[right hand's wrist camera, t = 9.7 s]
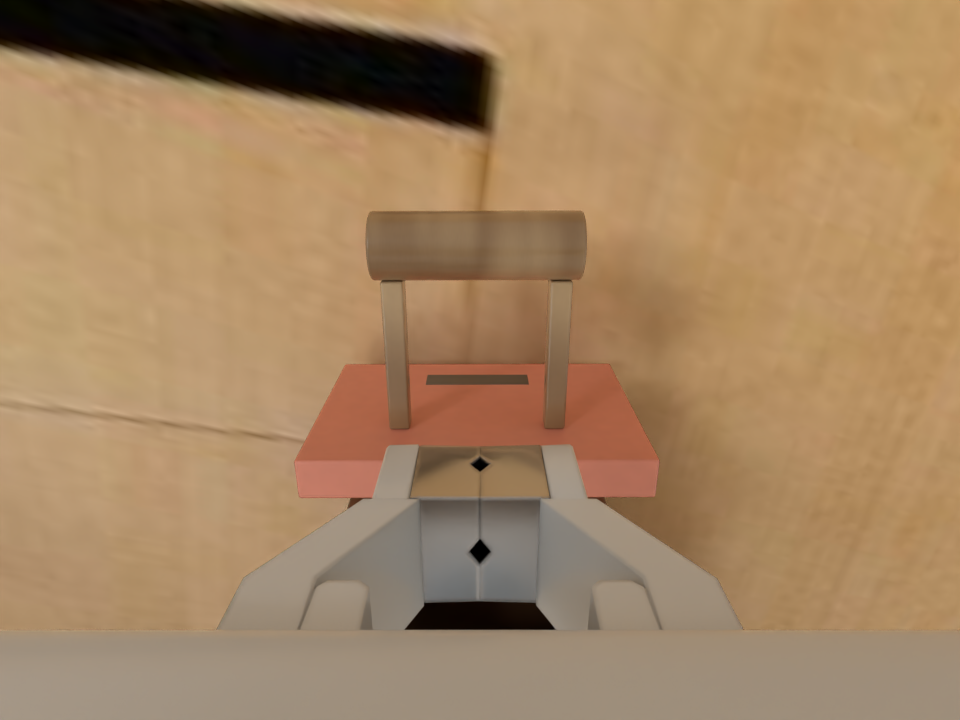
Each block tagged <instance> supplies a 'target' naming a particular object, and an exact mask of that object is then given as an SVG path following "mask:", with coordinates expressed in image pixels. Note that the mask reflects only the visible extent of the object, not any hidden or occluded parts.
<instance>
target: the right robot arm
mask: <svg viewBox="0 0 960 720" xmlns="http://www.w3.org/2000/svg"><path fill="white" fill-rule="evenodd" d="M468 601H491V602H527V603H536V606H537V607H538V608H539V609H540V611H541V612H542V613H543V614H544V616H545V617H546V618H547V619H548V620H549V622H550V623H551V624H552V625H553V627H554V628H555V629H556V630H405V628H406V627H407V626H408V625H409V623H410V622H411V621H412V620H413V619H414V617H415V616H416V615H417V614H418V612H419V611H420V610H421V609H422V608H423V606H424V603H432V602H468ZM0 720H960V630H744V629H743V627H742V626H741V624H740V622H739V620H738V618H737V616H736V614H735V612H734V610H733V608H732V606H731V604H730V602H729V600H728V598H727V596H726V595H725V593H724V591H723V589H722V587H721V585H720V583H719V581H718V579H717V578H716V577H714V576H713V575H711V574H710V573H708V572H707V571H705V570H704V569H702V568H701V567H699V566H697V565H696V564H694V563H693V562H691V561H690V560H688V559H687V558H685V557H684V556H682V555H681V554H679V553H678V552H676V551H675V550H673V549H672V548H670V547H669V546H667V545H666V544H664V543H663V542H661V541H660V540H658V539H657V538H655V537H654V536H652V535H651V534H649V533H648V532H646V531H645V530H643V529H642V528H640V527H639V526H637V525H636V524H634V523H633V522H631V521H630V520H628V519H626V518H625V517H623V516H622V515H620V514H619V513H617V512H616V511H614V510H613V509H611V508H610V507H608V506H607V505H605V504H604V503H602V502H601V501H599V500H598V499H588V497H587V494H586V490H585V487H584V483H583V480H582V477H581V473H580V470H579V466H578V463H577V459H576V456H575V453H574V449H573V446H571V445H570V444H562V445H515V446H450V445H420V446H419V445H418V444H409V445H389V446H388V447H387V448H386V452H385V455H384V459H383V462H382V466H381V469H380V473H379V476H378V480H377V483H376V487H375V490H374V494H373V497H372V499H362V500H361V501H359V502H358V503H356V504H355V505H353V506H352V507H350V508H349V509H347V510H346V511H344V512H342V513H341V514H339V515H338V516H336V517H335V518H333V519H332V520H330V521H329V522H327V523H326V524H324V525H323V526H321V527H320V528H318V529H317V530H315V531H314V532H312V533H311V534H309V535H308V536H306V537H305V538H303V539H302V540H300V541H298V542H297V543H295V544H294V545H292V546H291V547H289V548H288V549H286V550H285V551H283V552H282V553H280V554H279V555H277V556H276V557H274V558H273V559H271V560H270V561H268V562H267V563H265V564H264V565H262V566H261V567H259V568H258V569H256V570H254V571H253V572H251V573H250V574H248V575H247V576H245V577H244V578H243V580H242V582H241V584H240V585H239V587H238V589H237V591H236V593H235V595H234V597H233V599H232V601H231V603H230V605H229V606H228V608H227V610H226V612H225V614H224V616H223V618H222V620H221V622H220V624H219V626H218V627H217V629H216V630H0Z"/></svg>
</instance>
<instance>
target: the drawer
mask: <svg viewBox="0 0 960 720" xmlns="http://www.w3.org/2000/svg"><path fill="white" fill-rule="evenodd" d="M586 251H587V229H586V220H585V216H584V213H583V212H582V211H372V212H370V213H369V215H368V218H367V224H366V257H367V265H368V270H369V274H370V276H371V279H372V280H382V281H381V283H380V288H381V303H382V319H383V334H384V350H385V364H347V365H345V366H344V368H343V370H342V372H341V374H340V376H339V378H338V380H337V382H336V383H335V385H334V387H333V389H332V391H331V393H330V395H329V397H328V399H327V401H326V402H325V404H324V406H323V408H322V410H321V412H320V414H319V416H318V418H317V419H316V421H315V423H314V425H313V427H312V429H311V431H310V433H309V435H308V437H307V438H306V440H305V442H304V444H303V446H302V448H301V450H300V452H299V454H298V455H297V457H296V459H295V462H294V464H295V471H296V479H297V486H298V494H299V497H300V498H351V499H350V502H349V505H348V508H347V509H349V508H350V507H352V506H353V505H355V504H356V503H358V502H359V501H361V500H362V499H372V497H373V494H374V490H375V487H376V483H377V480H378V476H379V473H380V469H381V466H382V462H383V459H384V455H385V452H386V448H387V447H388V446H389V445H409V444H418V445H419V446H420V445H450V446H515V445H562V444H570V445H571V446H573V449H574V453H575V456H576V459H577V463H578V466H579V470H580V473H581V477H582V480H583V483H584V487H585V490H586V494H587V497H588V499H598V500H599V501H601V502H602V503H604V504H605V505H606V501H605V498H604V497H654V496H655V494H656V486H657V478H658V470H659V462H660V461H659V459H658V457H657V455H656V453H655V451H654V449H653V447H652V445H651V443H650V441H649V439H648V437H647V435H646V433H645V432H644V430H643V428H642V426H641V424H640V422H639V420H638V418H637V416H636V414H635V412H634V410H633V408H632V407H631V405H630V403H629V401H628V399H627V397H626V395H625V393H624V391H623V389H622V387H621V385H620V383H619V381H618V380H617V378H616V376H615V374H614V372H613V370H612V368H611V366H610V364H568V360H569V342H570V325H571V307H572V290H573V283H572V281H571V280H579V279H581V278H582V276H583V273H584V269H585V262H586ZM405 280H548V301H547V325H546V349H545V364H409V354H408V334H407V314H406V294H405ZM405 630H556V629H555V628H554V627H553V625H552V624H551V623H550V622H549V620H548V619H547V618H546V617H545V616H544V614H543V613H542V612H541V611H540V609H539V608H538V607H537V606H536V603H527V602H491V601H468V602H432V603H424V606H423V608H422V609H421V610H420V611H419V612H418V614H417V615H416V616H415V617H414V619H413V620H412V621H411V622H410V623H409V625H408V626H407V627H406V628H405Z"/></svg>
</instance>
